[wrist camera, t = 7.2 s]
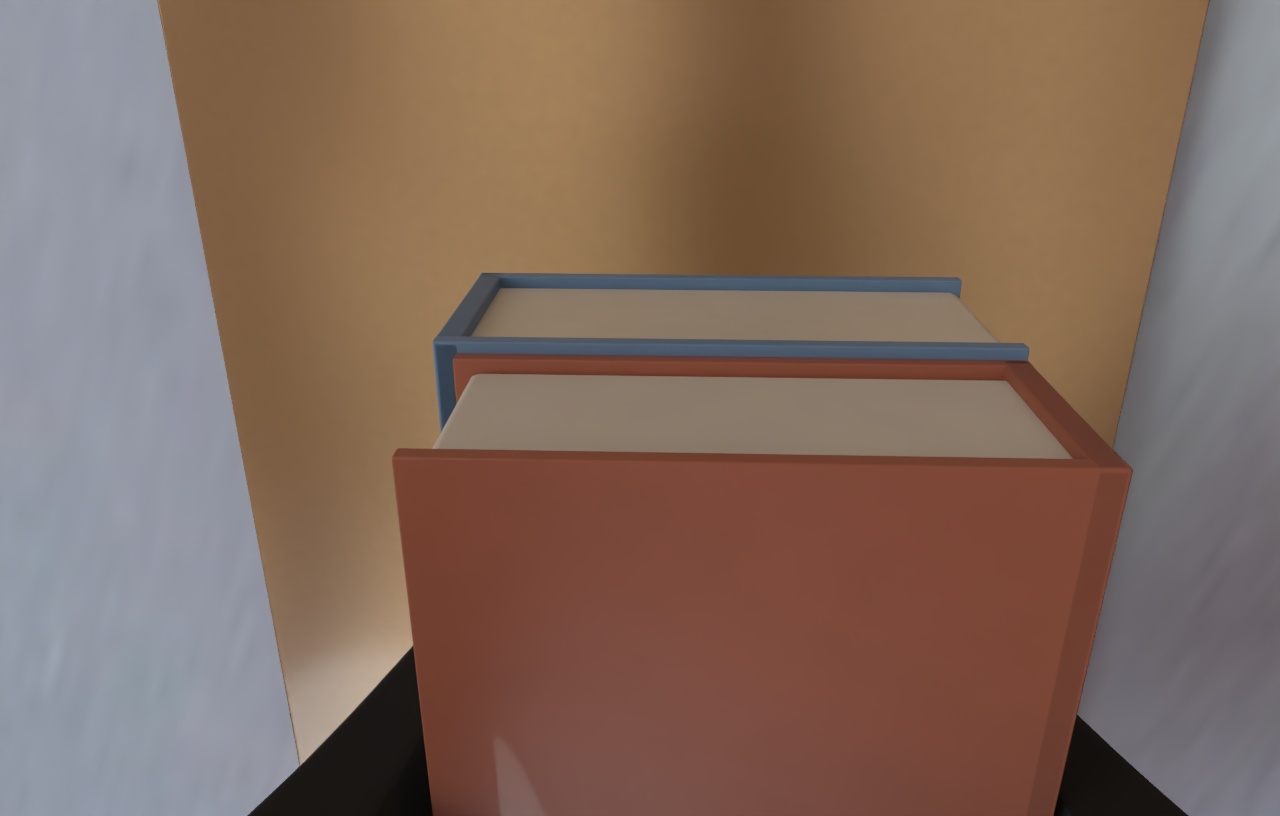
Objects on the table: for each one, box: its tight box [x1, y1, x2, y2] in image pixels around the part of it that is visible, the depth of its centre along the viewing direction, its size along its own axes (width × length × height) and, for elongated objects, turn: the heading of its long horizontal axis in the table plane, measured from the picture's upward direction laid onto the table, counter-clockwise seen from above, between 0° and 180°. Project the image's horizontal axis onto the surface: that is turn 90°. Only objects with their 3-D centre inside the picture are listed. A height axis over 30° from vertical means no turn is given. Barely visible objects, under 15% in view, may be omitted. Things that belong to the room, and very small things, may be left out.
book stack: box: [391, 273, 1133, 816], centre depth 10 cm, size 5×9×4 cm, turn 0°
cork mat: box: [157, 0, 1210, 765], centre depth 17 cm, size 16×20×1 cm
